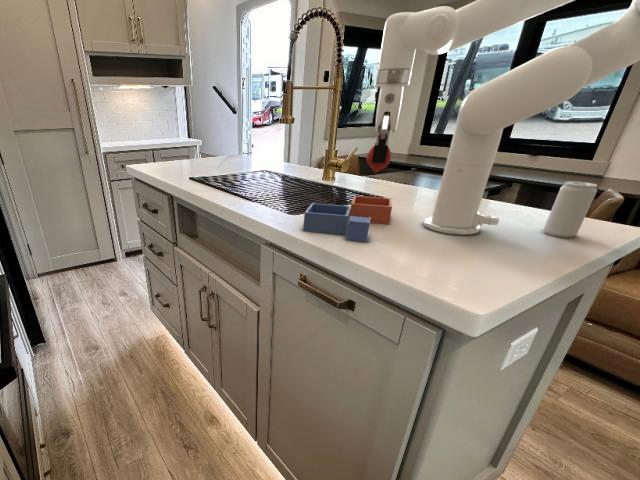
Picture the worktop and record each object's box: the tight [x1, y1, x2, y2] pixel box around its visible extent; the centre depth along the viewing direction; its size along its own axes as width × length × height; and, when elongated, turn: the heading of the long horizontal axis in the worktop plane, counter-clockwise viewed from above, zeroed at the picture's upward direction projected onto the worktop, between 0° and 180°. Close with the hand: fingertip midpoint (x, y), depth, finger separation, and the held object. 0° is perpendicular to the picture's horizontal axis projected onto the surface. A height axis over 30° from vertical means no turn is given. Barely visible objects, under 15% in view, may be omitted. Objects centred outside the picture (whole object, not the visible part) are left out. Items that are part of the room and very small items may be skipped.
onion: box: [366, 145, 392, 173], centre depth 92 cm, size 6×6×8 cm
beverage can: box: [543, 180, 598, 238], centre depth 84 cm, size 6×6×12 cm
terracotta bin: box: [349, 195, 393, 225], centre depth 99 cm, size 10×10×5 cm
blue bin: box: [302, 202, 351, 236], centre depth 91 cm, size 10×10×5 cm
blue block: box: [345, 216, 371, 243], centre depth 83 cm, size 4×4×4 cm
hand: (378, 160), depth 93 cm, fingers closed on onion, 5 cm apart
